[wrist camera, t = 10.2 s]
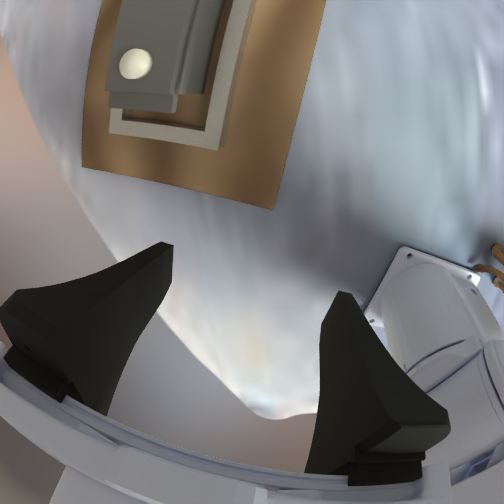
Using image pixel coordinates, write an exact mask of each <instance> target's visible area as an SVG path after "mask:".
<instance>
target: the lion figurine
mask: <svg viewBox="0 0 504 504" xmlns="http://www.w3.org/2000/svg"><path fill="white" fill-rule="evenodd" d="M491 254H492V255H493V256H494V257H495V258H496V259H497V260H498V261H499V262H500V263H501V264H503V265H504V254H503V253H502V248H501V246H500V245H499V244H495V245H494V246H493V248H492V251H491ZM472 270H473V271H474V272H489V273H492V274H495V275H496V276H497V277H496V278H495V279H494V282H493V284H494V286H495V287H498V288H500V289H501V290H502V291H503V293H504V274H503V273H502V272H501V271H499V270H497V269H495V268H493V267H490V266H485V265H482V264H477V265H474V266H473V267H472Z"/></svg>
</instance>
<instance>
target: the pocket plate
mask: <svg viewBox="0 0 504 504" xmlns="http://www.w3.org/2000/svg"><path fill="white" fill-rule="evenodd" d="M122 1H123V0H103V2H102V5H101V9H100V13H99V17H98V21H97V25H96V29H95V34H94V39H93V44H92V49H91V55H90V61H89V67H88V74H87V81H86V90H85V100H84V112H83V128H82V167H85V168H90V169H95V170H101V171H106V172H111V173H116V174H121V175H126V176H131V177H136V178H141V179H146V180H150V181H155V182H160V183H164V184H169V185H173V186H178V187H182V188H186V189H191V190H195V191H199V192H203V193H207V194H212V195H216V196H220V197H224V198H228V199H232V200H236V201H240V202H244V203H247V204H251V205H255V206H259V207H263V208H266V209H270V210H273V207H274V204H275V200H276V196H277V193H278V189H279V185H280V181H281V177H282V174H283V170H284V166H285V162H286V158H287V154H288V151H289V147H290V143H291V139H292V135H293V131H294V127H295V124H296V120H297V116H298V112H299V108H300V104H301V100H302V96H303V92H304V88H305V84H306V81H307V77H308V73H309V69H310V65H311V61H312V57H313V53H314V49H315V45H316V41H317V37H318V32H319V28H320V24H321V20H322V16H323V12H324V8H325V4H326V0H226V1H225V4H224V8H223V12H222V15H221V19H220V23H219V27H218V31H217V35H216V39H215V44H214V48H213V52H212V57H211V61H210V66H209V71H208V75H207V80H206V85H205V90H204V94H179V95H178V101H177V108H176V113H162V112H153V111H143V110H132V109H118V108H108V103H109V94H110V91H105V83H106V76H107V69H108V63H109V57H110V52H111V47H112V42H113V37H114V32H115V28H116V23H117V19H118V15H119V11H120V8H121V4H122Z"/></svg>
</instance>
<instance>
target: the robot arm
mask: <svg viewBox="0 0 504 504" xmlns="http://www.w3.org/2000/svg"><path fill="white" fill-rule="evenodd" d="M173 247H174V245H171V244H167V243H164V242H159V243H157V244H155V245H153V246H151V247H149V248H147V249H145V250H143V251H141V252H139V253H137V254H135V255H134V256H132V257H130V258H128V259H126V260H124V261H121V262H119V263H117V264H115V265H113V266H111V267H109V268H107V269H104V270H102V271H99V272H97V273H94V274H91V275H88V276H86V277H83V278H79V279H76V280H72V281H69V282H65V283H61V284H56V285H51V286H45V287H39V288H30V289H19V290H16V291H15V292H14V293H13V294H12V295H11V296H10V297H9V298H8V299H7V301H5V302H4V304H3V305H2V306H1V307H0V322H1V324H2V326H3V328H4V330H5V332H6V334H7V335H8V337H9V339H10V341H11V343H12V344H13V346H12V347H11V348H10V349H8V348H7V347H6V346H5V345H4V344H3V343H2V342H1V341H0V416H1V417H2V418H4V419H5V420H6V421H7V422H8V423H9V424H10V425H12V426H13V427H14V428H15V429H16V430H17V431H19V432H20V433H21V434H22V435H24V436H25V437H26V438H27V439H29V440H30V441H32V442H33V443H34V444H35V445H37V446H38V447H39V448H41V449H42V450H44V451H45V452H46V453H48V454H49V455H51V456H52V457H54V458H55V459H57V460H58V461H60V462H61V463H63V464H64V465H66V468H65V470H64V472H63V474H62V476H61V478H60V481H59V483H58V485H57V487H56V490H55V492H54V494H53V496H52V499H51V501H50V503H49V504H504V340H503V336H502V331H501V328H500V326H499V324H498V322H497V320H496V318H495V317H494V315H493V313H492V311H491V310H490V308H489V306H488V305H487V303H486V301H485V300H484V298H483V296H482V295H481V293H480V291H479V290H478V288H477V287H476V285H477V283H478V282H479V280H480V275H479V274H478V273H476V272H474V271H471V270H469V269H466V268H464V267H461V266H458V265H456V264H453V263H450V262H448V261H445V260H442V259H440V258H437V257H434V256H431V255H428V254H426V253H423V252H420V251H417V250H414V249H411V248H409V247H405V246H404V247H401V248H400V249H399V250H398V252H397V254H396V256H395V258H394V260H393V262H392V263H391V265H390V267H389V269H388V271H387V273H386V275H385V277H384V279H383V280H382V282H381V284H380V286H379V288H378V289H377V291H376V293H375V295H374V296H373V298H372V300H371V302H370V303H369V305H368V307H367V308H366V310H365V312H364V313H363V312H362V310H361V309H360V307H359V305H358V303H357V302H356V300H355V298H354V297H353V295H352V294H350V293H346V292H342V291H338V293H337V295H336V297H335V299H334V301H333V303H332V305H331V307H330V308H329V310H328V312H327V314H326V316H325V318H324V320H323V322H322V324H321V333H320V343H319V353H320V396H319V404H318V412H317V418H316V424H315V430H314V435H313V440H312V444H311V449H310V453H309V457H308V461H307V465H306V468H305V471H304V473H297V472H289V471H281V470H275V469H269V468H263V467H257V466H252V465H247V464H242V463H237V462H233V461H228V460H224V459H220V458H216V457H213V456H209V455H205V454H202V453H198V452H195V451H192V450H188V449H185V448H182V447H179V446H176V445H173V444H170V443H167V442H165V441H162V440H159V439H156V438H154V437H152V436H149V435H146V434H144V433H142V432H139V431H137V430H134V429H132V428H130V427H128V426H125V425H123V424H121V423H119V422H116V421H114V420H112V419H110V418H108V417H107V413H108V410H109V407H110V404H111V401H112V398H113V395H114V392H115V389H116V387H117V384H118V382H119V379H120V376H121V374H122V372H123V369H124V367H125V365H126V362H127V360H128V358H129V356H130V354H131V352H132V349H133V347H134V345H135V343H136V342H137V340H138V338H139V336H140V335H141V333H142V332H143V330H144V329H145V327H146V325H147V324H148V322H149V321H150V319H151V318H152V316H153V315H154V313H155V312H156V310H157V309H158V307H159V306H160V304H161V303H162V301H163V299H164V297H165V295H166V293H167V291H168V289H169V287H170V285H171V283H172V264H173ZM409 253H411V255H410V256H407V255H408V254H409ZM468 275H469V276H468ZM371 319H373V320H371ZM371 325H373V326H378V327H383V328H384V329H385V333H386V338H387V342H388V347H389V352H390V354H389V352H388V351H387V350H386V348H385V347H384V345H383V344H382V342H381V341H380V339H379V338H378V336H377V335H376V333H375V332H374V330H373V329H372V327H371ZM115 443H116V444H118V445H120V446H119V447H117V446H116V444H115ZM266 489H269V490H276V492H269V491H267V490H266Z"/></svg>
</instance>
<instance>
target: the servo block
mask: <svg viewBox="0 0 504 504" xmlns="http://www.w3.org/2000/svg"><path fill="white" fill-rule="evenodd" d="M225 1H226V0H123V1H122V4H121V8H120V11H119V15H118V19H117V23H116V28H115V32H114V37H113V42H112V47H111V52H110V57H109V63H108V69H107V76H106V83H105V91H110V94H109V103H108V108H118V109H132V110H143V111H153V112H162V113H176V108H177V101H178V95H179V94H204V90H205V85H206V80H207V75H208V71H209V66H210V61H211V57H212V52H213V48H214V44H215V39H216V35H217V31H218V27H219V23H220V19H221V15H222V12H223V8H224V4H225Z"/></svg>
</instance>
